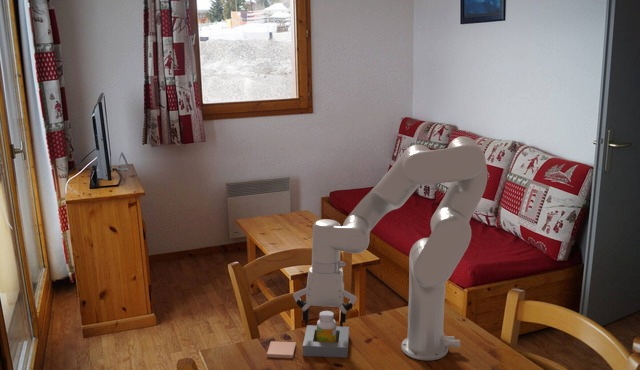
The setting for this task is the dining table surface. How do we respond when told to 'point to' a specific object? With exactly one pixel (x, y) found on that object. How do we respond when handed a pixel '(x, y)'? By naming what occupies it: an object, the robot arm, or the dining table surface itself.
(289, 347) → the mat
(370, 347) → the dining table surface
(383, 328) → the dining table surface
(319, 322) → the supplement bottle
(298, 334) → the dining table surface
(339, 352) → the frame
